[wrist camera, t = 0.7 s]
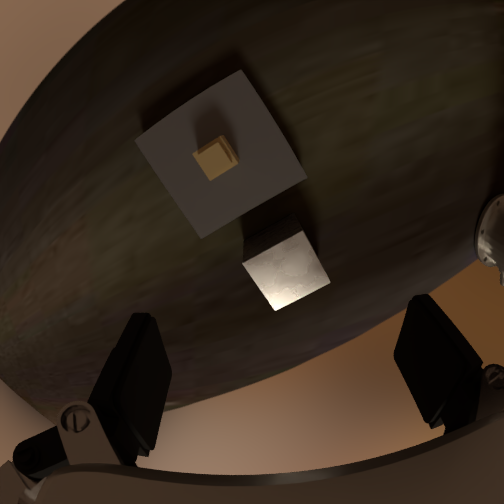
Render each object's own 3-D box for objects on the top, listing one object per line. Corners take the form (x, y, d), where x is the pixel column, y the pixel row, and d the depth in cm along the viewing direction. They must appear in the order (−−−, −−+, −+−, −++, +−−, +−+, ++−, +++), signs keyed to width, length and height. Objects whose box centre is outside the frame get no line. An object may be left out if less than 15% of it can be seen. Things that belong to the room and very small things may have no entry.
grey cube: (318, 258, 35) (330, 282, 30) (271, 283, 37) (275, 310, 31) (293, 212, 33) (302, 230, 27) (243, 240, 34) (242, 263, 29)
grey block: (302, 173, 31) (316, 185, 25) (205, 229, 34) (194, 254, 27) (241, 74, 26) (239, 59, 20) (144, 139, 29) (118, 142, 23)
